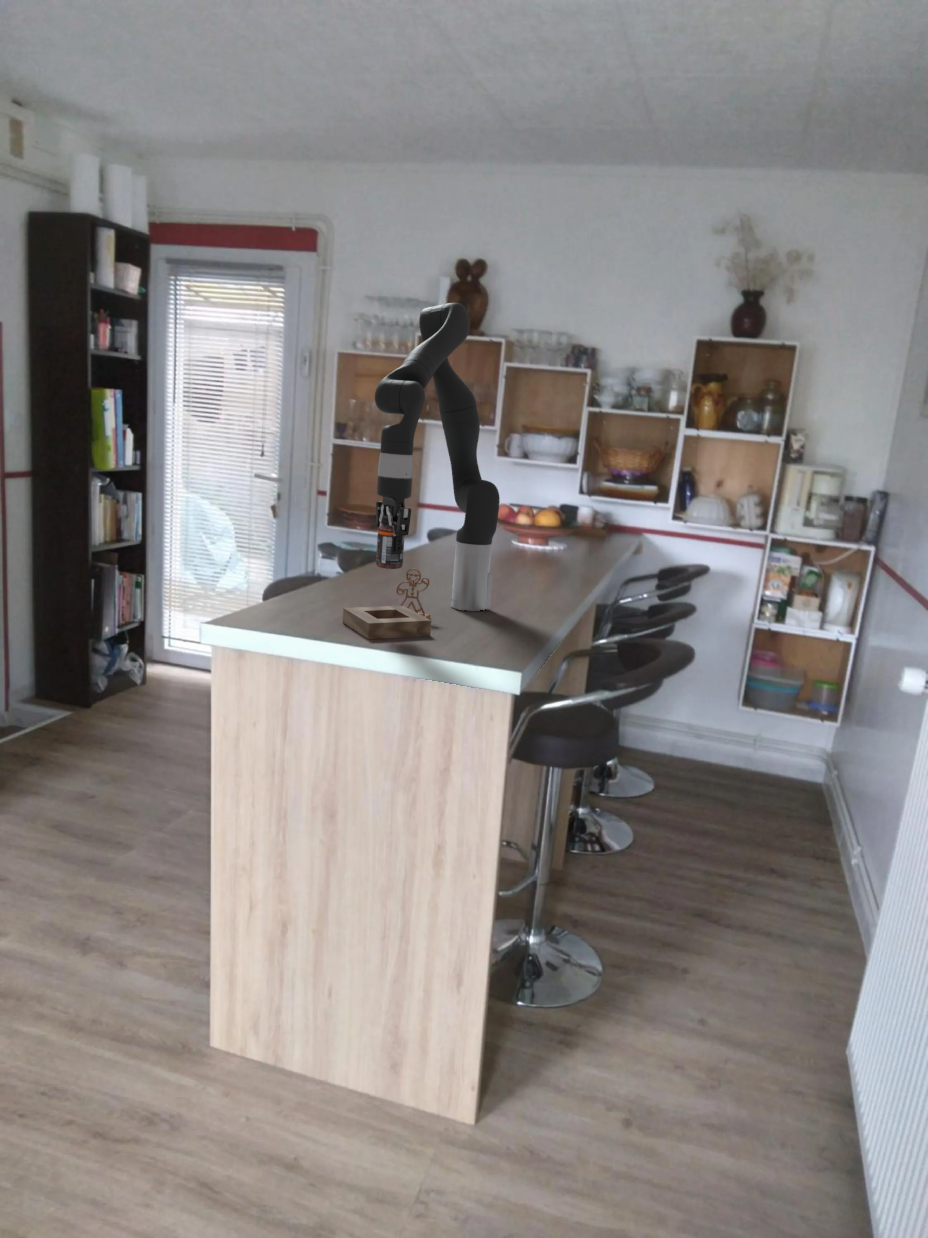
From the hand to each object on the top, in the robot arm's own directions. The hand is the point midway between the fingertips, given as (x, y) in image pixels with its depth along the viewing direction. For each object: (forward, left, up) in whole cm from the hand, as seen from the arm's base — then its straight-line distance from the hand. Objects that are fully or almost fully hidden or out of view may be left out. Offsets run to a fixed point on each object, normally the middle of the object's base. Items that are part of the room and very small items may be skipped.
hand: (390, 551), depth 191 cm
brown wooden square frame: (0, 0, -18) cm, 18 cm away
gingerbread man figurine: (-11, -10, -18) cm, 23 cm away
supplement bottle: (0, 0, -4) cm, 4 cm away
